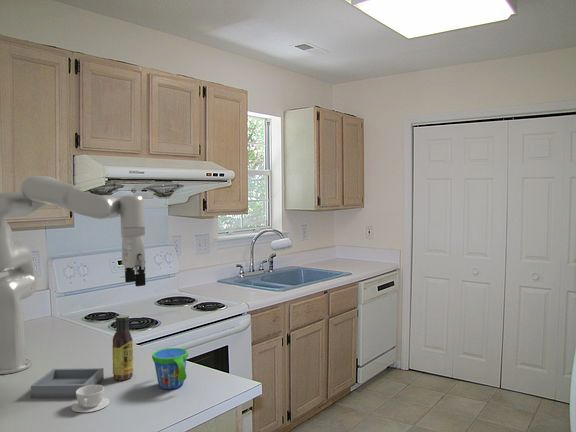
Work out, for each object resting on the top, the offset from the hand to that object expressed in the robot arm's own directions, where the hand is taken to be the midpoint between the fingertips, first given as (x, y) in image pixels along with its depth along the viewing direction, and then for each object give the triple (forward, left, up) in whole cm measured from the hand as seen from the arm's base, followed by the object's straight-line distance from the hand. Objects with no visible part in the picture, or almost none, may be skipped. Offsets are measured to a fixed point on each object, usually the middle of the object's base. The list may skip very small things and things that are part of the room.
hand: (135, 283), depth 166 cm
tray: (-17, -15, -29) cm, 37 cm away
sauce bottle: (-3, -7, -29) cm, 30 cm away
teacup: (-5, -28, -30) cm, 41 cm away
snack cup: (+14, -14, -29) cm, 36 cm away
